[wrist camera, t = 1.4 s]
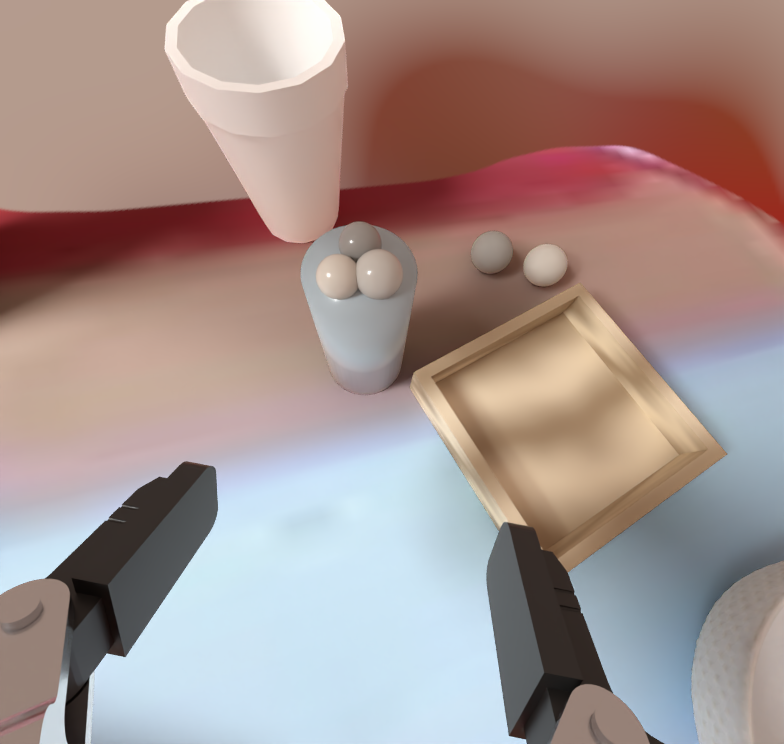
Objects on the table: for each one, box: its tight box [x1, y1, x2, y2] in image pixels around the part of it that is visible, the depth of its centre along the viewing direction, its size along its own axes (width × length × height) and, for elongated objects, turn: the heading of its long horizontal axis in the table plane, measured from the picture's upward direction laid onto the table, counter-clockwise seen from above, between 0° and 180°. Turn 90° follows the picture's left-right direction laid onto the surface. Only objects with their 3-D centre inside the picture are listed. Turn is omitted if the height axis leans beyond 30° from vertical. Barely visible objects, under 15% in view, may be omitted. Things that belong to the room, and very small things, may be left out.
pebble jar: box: [301, 221, 418, 395], centre depth 22 cm, size 5×5×13 cm
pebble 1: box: [471, 231, 513, 274], centre depth 30 cm, size 3×3×3 cm
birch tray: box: [410, 283, 727, 573], centre depth 25 cm, size 14×14×3 cm
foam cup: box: [165, 0, 348, 243], centre depth 26 cm, size 10×9×13 cm
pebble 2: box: [523, 244, 568, 286], centre depth 29 cm, size 3×3×3 cm
